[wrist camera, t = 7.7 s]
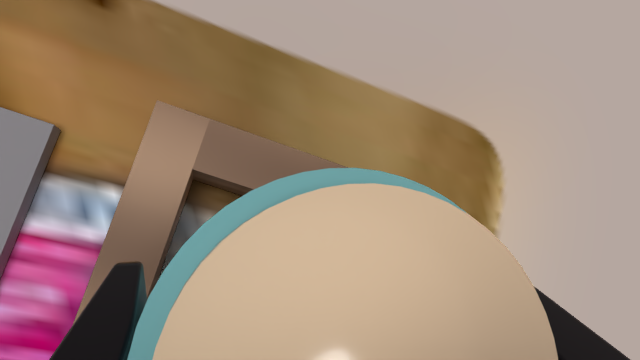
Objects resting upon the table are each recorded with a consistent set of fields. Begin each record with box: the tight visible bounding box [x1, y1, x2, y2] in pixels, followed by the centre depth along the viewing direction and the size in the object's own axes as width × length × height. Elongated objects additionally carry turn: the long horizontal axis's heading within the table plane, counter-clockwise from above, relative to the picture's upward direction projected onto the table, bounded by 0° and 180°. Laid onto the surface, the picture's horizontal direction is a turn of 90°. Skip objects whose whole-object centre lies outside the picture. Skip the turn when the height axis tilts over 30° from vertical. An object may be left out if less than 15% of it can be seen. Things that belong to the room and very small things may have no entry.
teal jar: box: [127, 168, 558, 360], centre depth 11 cm, size 6×6×10 cm
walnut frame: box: [73, 100, 348, 324], centre depth 19 cm, size 11×11×4 cm
